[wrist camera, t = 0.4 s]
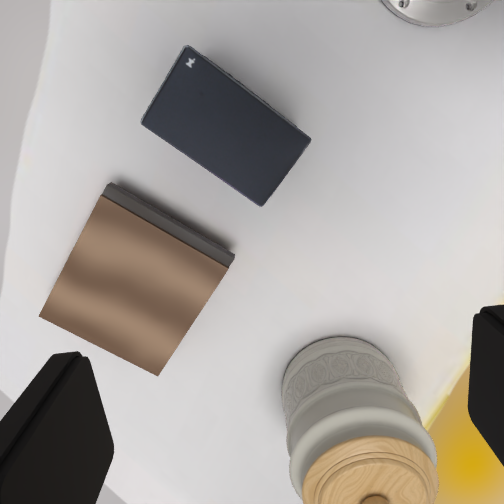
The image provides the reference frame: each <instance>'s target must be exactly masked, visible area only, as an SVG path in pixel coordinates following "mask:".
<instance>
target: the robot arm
mask: <svg viewBox="0 0 504 504" xmlns="http://www.w3.org/2000/svg"><path fill="white" fill-rule="evenodd" d="M382 1H383V3H384V4H385V5H386V7H387V8H389V9H390V10H391V11H392V12H393V13H394V14H396V15H397V16H398V17H400V18H402V19H404V20H406V21H408V22H410V23H413V24H417V25H421V26H431V27H439V26H445V25H450V24H454V23H457V22H460V21H463V20H465V19H467V18H469V17H471V16H474V15H475V14H477V13H479V12H480V11H481V10H483V9H484V8H485V7H487V6H488V5H490V4H491V3H492V2H493V1H494V0H382ZM400 1H401V2H403V7H402V8H401V7H400V6H399V2H400ZM466 4H468V6H469V9H468V10H467V9H466ZM468 412H469V415H470V418H471V420H472V422H473V424H474V425H475V426H476V428H477V429H478V430H479V432H480V434H481V435H482V436H483V438H484V439H485V440H486V442H487V443H488V445H489V446H490V447H491V449H492V450H493V452H494V453H495V455H496V456H497V458H498V459H499V460H500V462H501V463H502V465H503V466H504V305H495V306H486V307H483V308H481V310H480V313H478V314H475V315H474V317H473V328H472V345H471V361H470V378H469V394H468ZM113 455H114V443H113V439H112V436H111V432H110V429H109V425H108V422H107V418H106V415H105V412H104V408H103V405H102V401H101V398H100V394H99V391H98V387H97V384H96V380H95V377H94V373H93V370H92V366H91V363H90V360H89V358H88V357H86V356H85V357H83V356H82V355H81V353H80V352H78V351H76V352H67V353H58V354H53V355H52V356H51V357H50V358H49V360H48V361H47V362H46V364H45V365H44V366H43V367H42V369H41V370H40V371H39V372H38V374H37V375H36V376H35V378H34V379H33V380H32V381H31V383H30V384H29V385H28V387H27V388H26V389H25V390H24V392H23V393H22V394H21V395H20V397H19V398H18V399H17V401H16V402H15V403H14V404H13V406H12V407H11V408H10V410H9V411H8V412H7V413H6V415H5V416H4V417H3V419H2V420H1V421H0V504H96V501H97V498H98V496H99V493H100V490H101V488H102V485H103V483H104V480H105V477H106V475H107V472H108V470H109V467H110V464H111V462H112V459H113Z"/></svg>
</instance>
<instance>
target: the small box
mask: <svg viewBox="0 0 504 504" xmlns="http://www.w3.org/2000/svg"><path fill="white" fill-rule="evenodd" d="M141 124H142V125H143V126H145V127H146V128H148V129H149V130H150V131H152V132H153V133H155V134H156V135H158V136H159V137H161V138H162V139H163V140H165V141H166V142H168V143H169V144H171V145H172V146H174V147H175V148H176V149H178V150H179V151H181V152H182V153H184V154H185V155H187V156H188V157H189V158H191V159H192V160H194V161H195V162H197V163H198V164H200V165H201V166H202V167H204V168H205V169H207V170H208V171H210V172H211V173H213V174H214V175H215V176H217V177H218V178H220V179H221V180H223V181H224V182H225V183H227V184H228V185H230V186H231V187H233V188H234V189H235V190H237V191H238V192H240V193H241V194H242V195H244V196H245V197H247V198H248V199H250V200H251V201H252V202H254V203H255V204H257V205H258V206H260V207H262V206H263V205H264V204H265V203H266V201H267V200H268V199H269V198H270V196H271V195H272V194H273V192H274V191H275V190H276V188H277V187H278V186H279V184H280V183H281V182H282V181H283V179H284V178H285V176H286V175H287V174H288V172H289V171H290V170H291V168H292V167H293V165H294V164H295V163H296V161H297V160H298V159H299V157H300V156H301V154H302V153H303V152H304V150H305V149H306V148H307V146H308V145H309V143H310V142H311V138H310V137H309V136H307V135H306V134H305V133H303V132H302V131H301V130H300V129H298V128H297V127H296V126H295V125H294V124H292V123H291V122H290V121H289V120H287V119H286V118H285V117H284V116H282V115H281V114H280V113H278V112H277V111H276V110H275V109H273V108H272V107H271V106H269V104H267V103H266V102H265V101H263V100H262V99H261V98H259V97H258V96H257V95H255V94H254V93H253V92H251V91H250V90H249V89H248V88H246V87H245V86H244V85H243V84H241V83H240V82H239V81H238V80H236V79H235V78H233V77H232V76H231V75H230V74H229V73H227V72H225V71H224V70H222V69H221V68H220V67H218V66H217V65H216V64H214V63H213V62H212V61H210V60H209V59H208V58H206V57H205V56H203V55H201V54H200V53H199V52H197V51H196V50H195V49H194V48H192V47H191V46H189V45H186V46H184V47H183V49H182V51H181V53H180V54H179V56H178V58H177V60H176V61H175V63H174V65H173V66H172V68H171V70H170V71H169V73H168V75H167V76H166V78H165V80H164V82H163V84H162V85H161V87H160V89H159V90H158V92H157V93H156V95H155V97H154V98H153V100H152V102H151V104H150V105H149V107H148V109H147V111H146V112H145V114H144V115H143V118H142V119H141Z"/></svg>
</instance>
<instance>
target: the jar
mask: <svg viewBox="0 0 504 504" xmlns="http://www.w3.org/2000/svg"><path fill="white" fill-rule="evenodd" d="M282 404H283V409H284V412H285V416H286V425H287V439H286V442H287V450H288V453H289V456H290V464H289V473H290V479H291V482H292V485H293V487H294V489H295V491H296V493H297V494H298V496H299V497H300V498H301V499H302V500H303V503H304V504H433V503H434V501H435V499H436V496H437V493H438V487H439V480H438V475H437V471H436V466H437V453H436V448H435V445H434V442H433V440H432V438H431V436H430V435H429V433H428V432H427V430H426V429H425V428H424V427H423V426H422V422H421V419H420V416H419V413H418V411H417V410H416V408H415V406H414V405H413V404H412V402H411V401H410V400H409V399H408V397H407V395H406V393H405V391H404V389H403V387H402V386H401V383H400V379H399V377H398V374H397V372H396V370H395V369H394V367H393V365H392V364H391V362H390V361H389V360H388V359H387V358H386V357H385V356H384V355H383V354H382V353H381V352H380V351H379V350H378V349H377V348H375V347H374V346H372V345H371V344H369V343H367V342H365V341H362V340H359V339H355V338H349V337H335V338H328V339H324V340H321V341H318V342H316V343H313V344H311V345H309V346H308V347H306V348H305V349H303V350H302V351H301V352H300V353H298V354H297V355H296V356H295V358H294V359H293V360H292V361H291V363H290V364H289V366H288V368H287V370H286V373H285V376H284V381H283V385H282Z"/></svg>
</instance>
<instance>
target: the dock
mask: <svg viewBox="0 0 504 504" xmlns="http://www.w3.org/2000/svg"><path fill="white" fill-rule="evenodd" d="M234 257H235V254H233V253H232V252H230V251H228V250H227V249H225V248H223V247H221V246H220V245H218V244H216V243H215V242H213V241H211V240H209V239H208V238H206V237H204V236H203V235H201V234H199V233H197V232H196V231H194V230H192V229H191V228H189V227H187V226H185V225H184V224H182V223H180V222H179V221H177V220H175V219H173V218H172V217H170V216H168V215H167V214H165V213H163V212H162V211H160V210H158V209H156V208H155V207H153V206H151V205H150V204H148V203H146V202H144V201H143V200H141V199H139V198H138V197H136V196H134V195H132V194H131V193H129V192H127V191H126V190H124V189H122V188H120V187H119V186H117V185H115V184H114V183H112V182H111V183H109V184H108V185H107V186H106V188H105V190H104V192H103V194H102V195H101V196H100V198H99V200H98V201H97V203H96V205H95V207H94V209H93V211H92V213H91V215H90V217H89V219H88V221H87V223H86V225H85V227H84V229H83V231H82V233H81V235H80V237H79V238H78V240H77V242H76V244H75V246H74V248H73V250H72V252H71V254H70V256H69V258H68V260H67V262H66V264H65V266H64V268H63V270H62V272H61V274H60V275H59V277H58V279H57V281H56V283H55V285H54V287H53V289H52V291H51V293H50V295H49V297H48V299H47V301H46V303H45V305H44V307H43V309H42V311H41V313H40V314H39V317H41V318H43V319H45V320H47V321H49V322H51V323H53V324H55V325H57V326H59V327H61V328H63V329H65V330H67V331H69V332H71V333H73V334H75V335H77V336H79V337H81V338H83V339H85V340H87V341H89V342H91V343H93V344H95V345H97V346H99V347H101V348H103V349H105V350H107V351H108V352H110V353H112V354H114V355H116V356H118V357H120V358H122V359H124V360H126V361H128V362H130V363H132V364H134V365H136V366H138V367H140V368H142V369H144V370H146V371H148V372H150V373H152V374H154V375H156V376H158V375H159V374H160V372H161V371H162V369H163V368H164V366H165V365H166V363H167V362H168V360H169V359H170V357H171V356H172V354H173V353H174V351H175V350H176V348H177V347H178V345H179V344H180V342H181V340H182V339H183V337H184V336H185V334H186V333H187V331H188V330H189V328H190V327H191V325H192V324H193V322H194V321H195V319H196V318H197V316H198V315H199V313H200V312H201V310H202V309H203V307H204V305H205V304H206V302H207V301H208V299H209V298H210V296H211V295H212V293H213V292H214V290H215V289H216V287H217V286H218V284H219V283H220V281H221V280H222V278H223V277H224V275H225V274H226V272H227V270H228V269H229V266H230V265H231V263H232V262H233V260H234Z"/></svg>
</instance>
